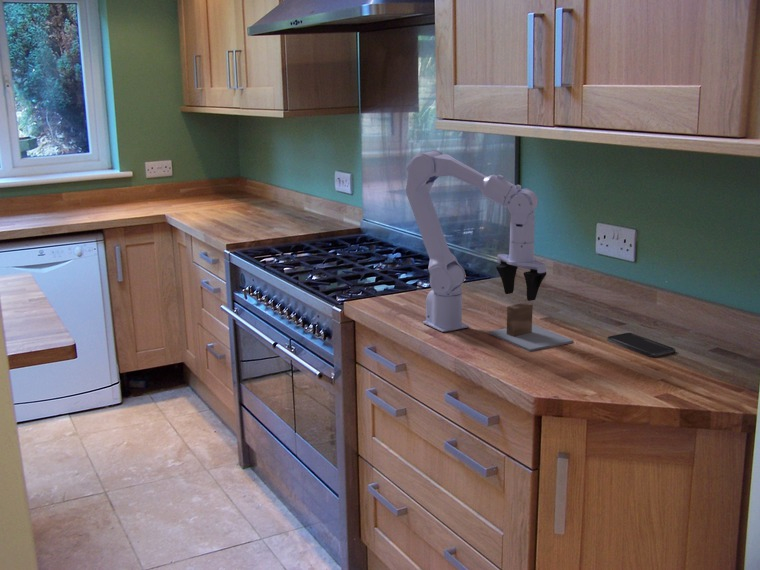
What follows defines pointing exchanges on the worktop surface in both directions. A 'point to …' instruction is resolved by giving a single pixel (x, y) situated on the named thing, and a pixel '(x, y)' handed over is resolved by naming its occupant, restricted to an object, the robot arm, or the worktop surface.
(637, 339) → the phone
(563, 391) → the worktop surface
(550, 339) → the rubber mat
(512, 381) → the worktop surface
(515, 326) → the brown wooden block
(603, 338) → the worktop surface
